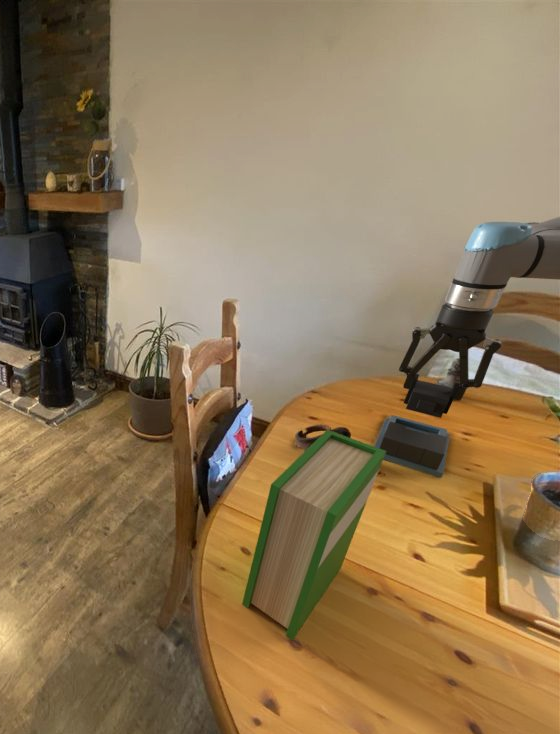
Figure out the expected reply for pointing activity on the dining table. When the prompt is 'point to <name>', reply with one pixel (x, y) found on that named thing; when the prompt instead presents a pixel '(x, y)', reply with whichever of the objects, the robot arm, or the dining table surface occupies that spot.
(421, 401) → the black box
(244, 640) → the dining table surface
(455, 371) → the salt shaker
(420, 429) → the board
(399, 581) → the dining table surface
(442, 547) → the dining table surface
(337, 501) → the hardback book
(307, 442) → the dark brown curved piece
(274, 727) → the dining table surface
